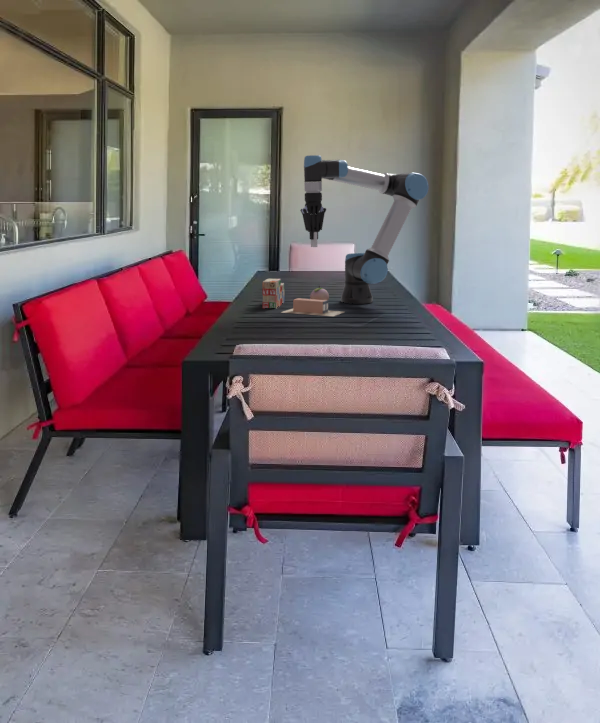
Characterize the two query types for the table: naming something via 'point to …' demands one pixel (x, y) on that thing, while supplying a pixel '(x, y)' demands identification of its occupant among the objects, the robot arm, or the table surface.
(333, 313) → the board
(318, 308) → the block
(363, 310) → the table surface
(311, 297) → the decorative fruit
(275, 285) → the stack of blocks
